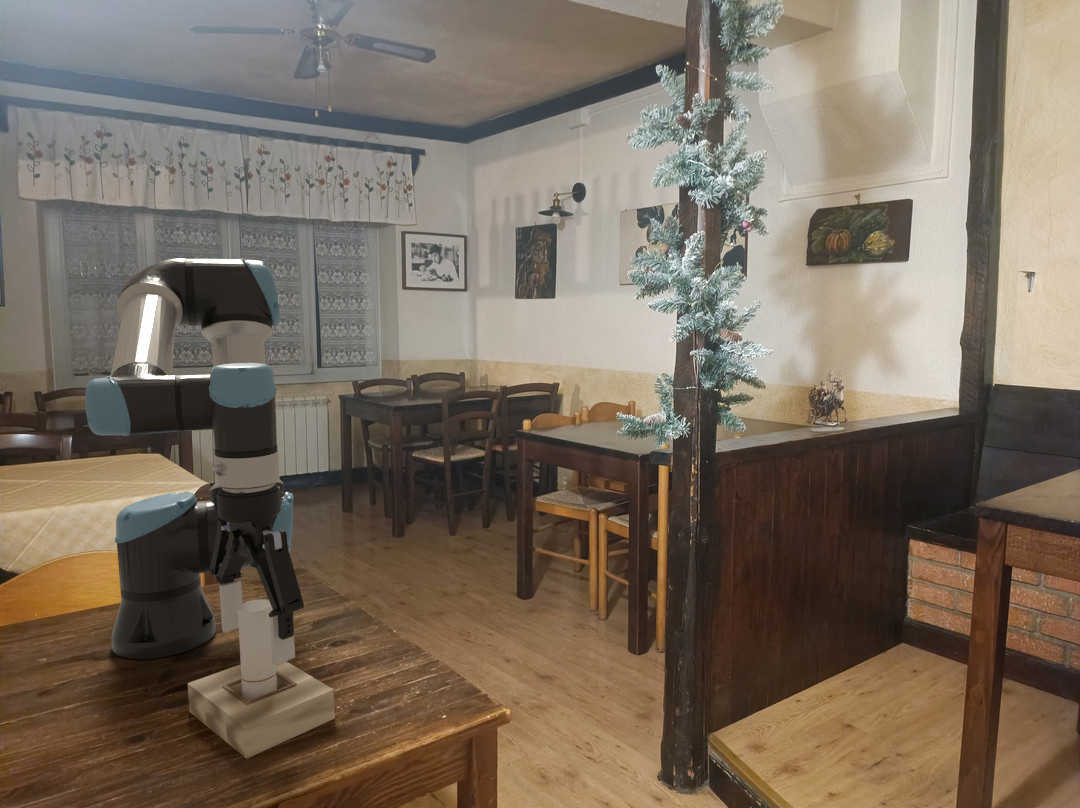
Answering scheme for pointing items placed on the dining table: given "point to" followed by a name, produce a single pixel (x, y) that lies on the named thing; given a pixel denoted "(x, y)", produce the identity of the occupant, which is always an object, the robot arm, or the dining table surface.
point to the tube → (256, 649)
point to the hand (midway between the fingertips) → (257, 644)
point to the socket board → (260, 708)
